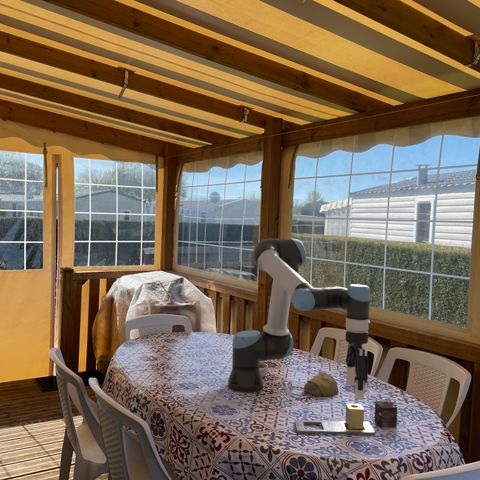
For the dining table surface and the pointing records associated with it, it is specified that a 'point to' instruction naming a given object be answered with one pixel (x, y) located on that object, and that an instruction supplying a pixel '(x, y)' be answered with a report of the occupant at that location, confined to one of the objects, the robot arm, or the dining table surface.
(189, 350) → the dining table surface
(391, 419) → the box
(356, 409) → the gold block with hole
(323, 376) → the pastry
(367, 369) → the beverage can
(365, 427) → the grey board with holes
